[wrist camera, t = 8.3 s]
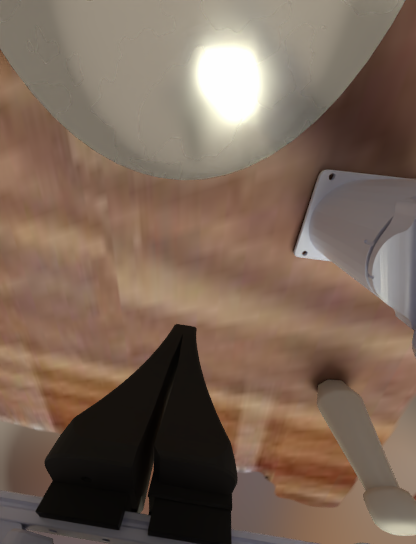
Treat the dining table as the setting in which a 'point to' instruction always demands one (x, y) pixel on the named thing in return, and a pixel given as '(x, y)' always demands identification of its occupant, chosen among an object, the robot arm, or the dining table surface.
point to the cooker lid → (190, 73)
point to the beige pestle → (367, 458)
